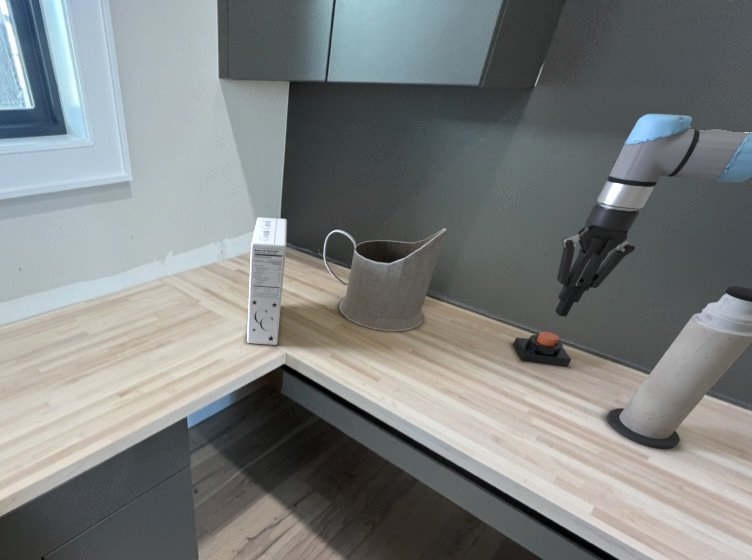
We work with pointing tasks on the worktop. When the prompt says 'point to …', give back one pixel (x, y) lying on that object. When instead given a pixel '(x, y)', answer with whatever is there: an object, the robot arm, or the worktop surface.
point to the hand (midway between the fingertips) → (560, 313)
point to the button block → (541, 352)
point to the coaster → (647, 441)
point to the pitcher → (389, 281)
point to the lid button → (547, 339)
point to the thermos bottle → (692, 365)
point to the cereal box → (266, 280)
